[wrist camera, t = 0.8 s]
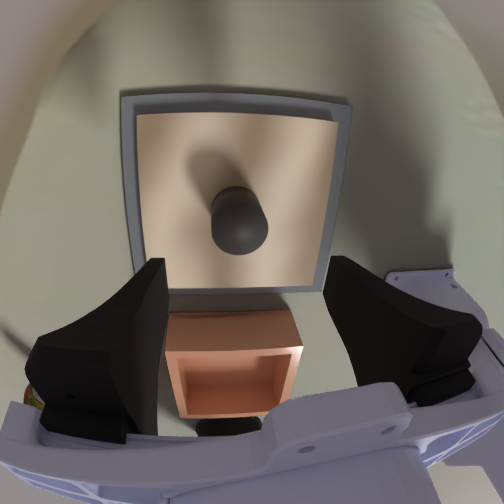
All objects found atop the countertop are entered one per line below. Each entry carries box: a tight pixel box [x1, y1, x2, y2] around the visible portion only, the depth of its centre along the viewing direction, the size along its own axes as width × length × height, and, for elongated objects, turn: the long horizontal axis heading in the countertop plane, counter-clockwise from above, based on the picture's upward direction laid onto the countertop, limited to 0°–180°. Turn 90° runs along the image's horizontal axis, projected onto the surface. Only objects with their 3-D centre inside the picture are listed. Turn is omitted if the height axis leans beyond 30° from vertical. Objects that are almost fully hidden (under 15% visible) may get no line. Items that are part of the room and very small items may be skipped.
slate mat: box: [121, 93, 352, 295], centre depth 21 cm, size 15×15×1 cm
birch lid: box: [137, 112, 338, 288], centre depth 19 cm, size 12×12×4 cm
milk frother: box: [196, 416, 263, 437], centre depth 30 cm, size 14×16×15 cm
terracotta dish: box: [165, 310, 303, 418], centre depth 26 cm, size 10×10×4 cm
